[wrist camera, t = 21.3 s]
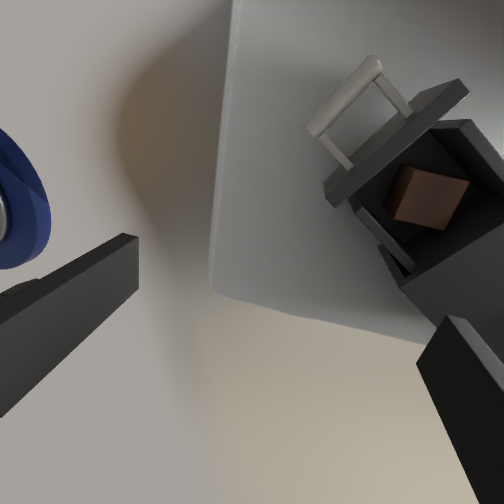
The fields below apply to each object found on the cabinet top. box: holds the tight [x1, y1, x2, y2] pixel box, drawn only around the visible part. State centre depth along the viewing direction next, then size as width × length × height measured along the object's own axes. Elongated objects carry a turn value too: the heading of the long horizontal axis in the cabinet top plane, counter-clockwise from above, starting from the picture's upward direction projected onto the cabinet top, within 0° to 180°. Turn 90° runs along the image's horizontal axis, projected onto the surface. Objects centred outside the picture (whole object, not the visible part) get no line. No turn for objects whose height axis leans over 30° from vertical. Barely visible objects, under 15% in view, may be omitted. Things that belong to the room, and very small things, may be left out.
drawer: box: [303, 55, 504, 274], centre depth 22 cm, size 15×10×7 cm
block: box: [383, 164, 470, 231], centre depth 23 cm, size 4×4×4 cm
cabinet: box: [377, 215, 504, 365], centre depth 24 cm, size 12×12×9 cm
